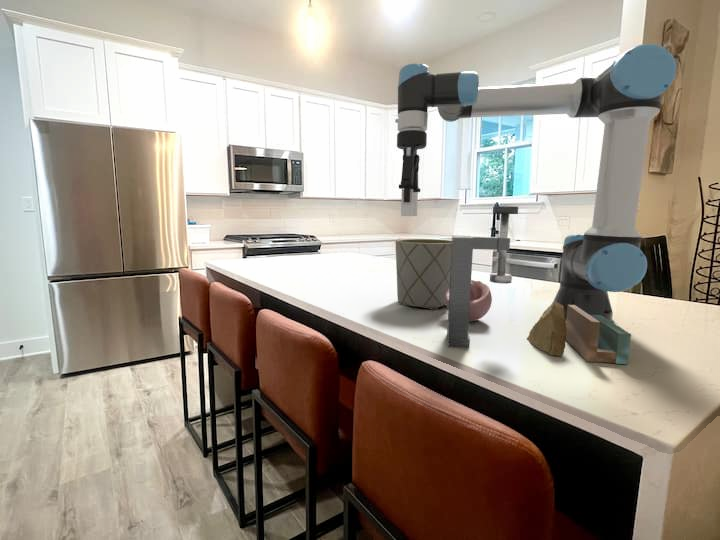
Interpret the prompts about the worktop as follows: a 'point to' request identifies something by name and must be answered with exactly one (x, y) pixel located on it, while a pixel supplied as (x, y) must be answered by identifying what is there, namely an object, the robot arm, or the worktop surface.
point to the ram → (500, 275)
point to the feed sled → (596, 337)
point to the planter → (423, 271)
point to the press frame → (465, 284)
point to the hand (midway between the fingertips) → (409, 216)
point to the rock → (550, 330)
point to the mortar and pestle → (476, 300)
